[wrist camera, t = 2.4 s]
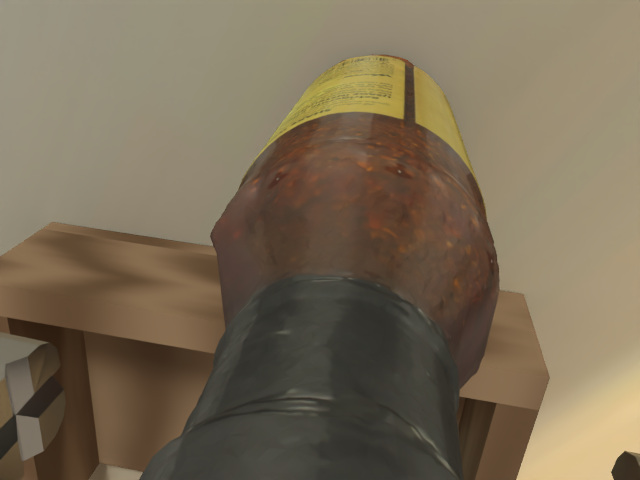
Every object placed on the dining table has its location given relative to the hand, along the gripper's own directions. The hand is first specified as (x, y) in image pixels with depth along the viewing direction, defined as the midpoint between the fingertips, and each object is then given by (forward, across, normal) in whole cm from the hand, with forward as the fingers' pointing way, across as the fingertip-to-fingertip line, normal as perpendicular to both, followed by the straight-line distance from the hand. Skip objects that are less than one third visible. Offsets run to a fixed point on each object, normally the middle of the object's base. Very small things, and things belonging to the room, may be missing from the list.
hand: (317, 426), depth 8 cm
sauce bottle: (+17, 0, 0) cm, 17 cm away
